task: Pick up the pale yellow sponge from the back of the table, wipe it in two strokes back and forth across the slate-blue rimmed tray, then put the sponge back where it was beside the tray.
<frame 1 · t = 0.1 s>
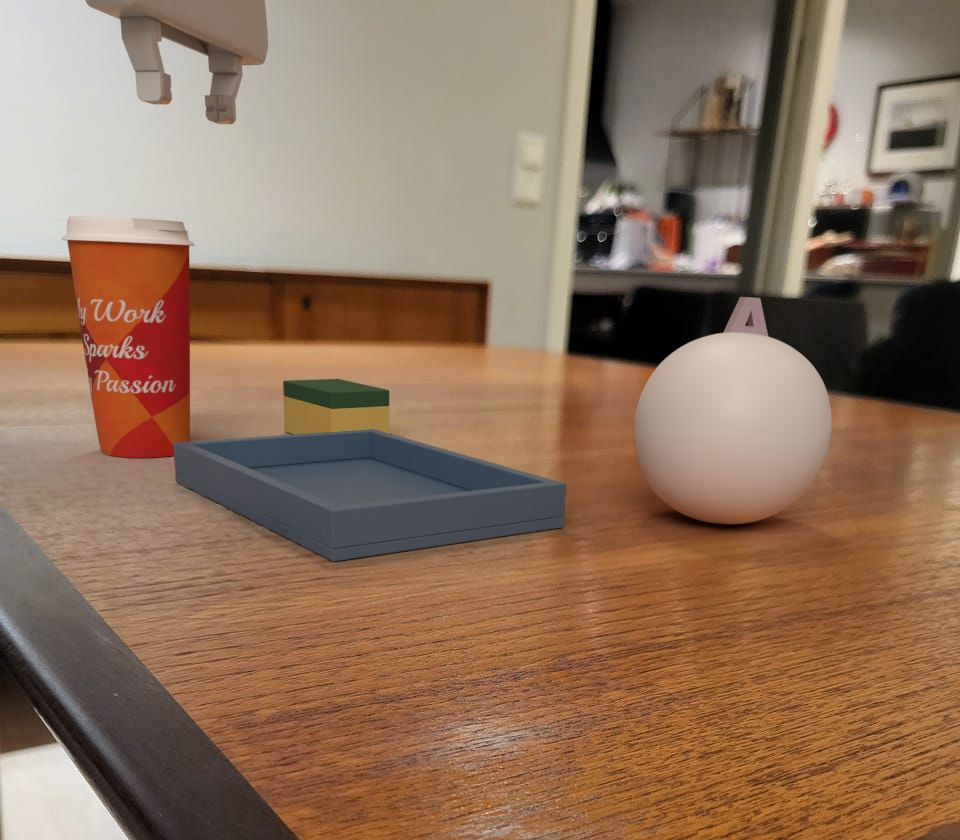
hand: (190, 113, 72), 22 cm above the table, tool pointing down, fingers open, 8 cm apart
coffee cup: (146, 453, 70), on the table
sponge: (335, 437, 79), on the table
ornament: (718, 524, 57), on the table
tray: (357, 503, 57), on the table
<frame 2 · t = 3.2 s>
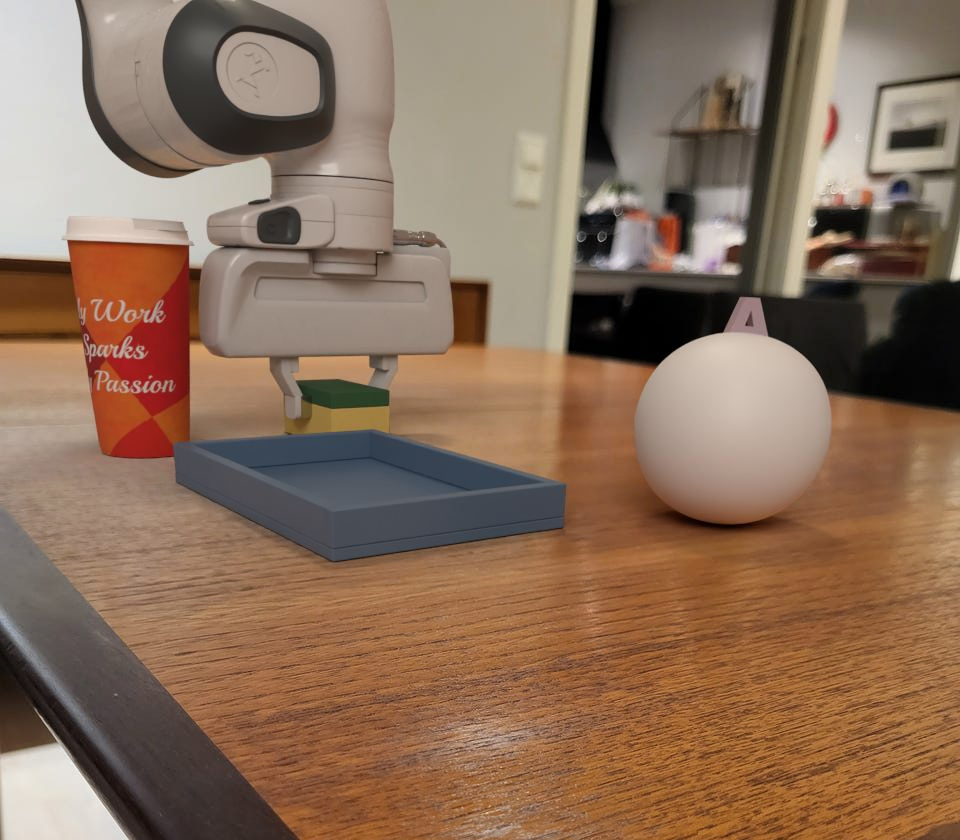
hand: (335, 416, 78), 2 cm above the table, tool pointing down, fingers closed on sponge, 5 cm apart
sponge: (335, 437, 79), on the table, touching gripper
everything else where it was.
when the fingers open (1 cm above the table, at t = 21.7 s): sponge stays where it is, on the table.
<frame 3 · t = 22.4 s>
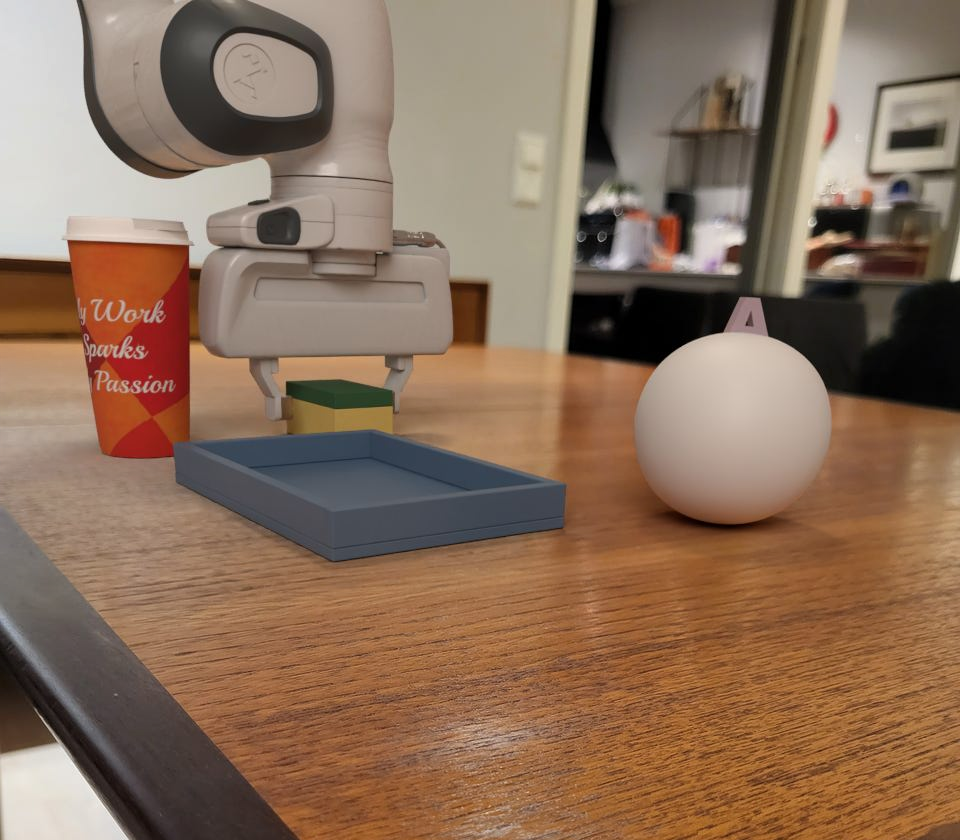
hand: (334, 416, 78), 2 cm above the table, tool pointing down, fingers open, 8 cm apart
sponge: (338, 437, 78), on the table
everything else where it was.
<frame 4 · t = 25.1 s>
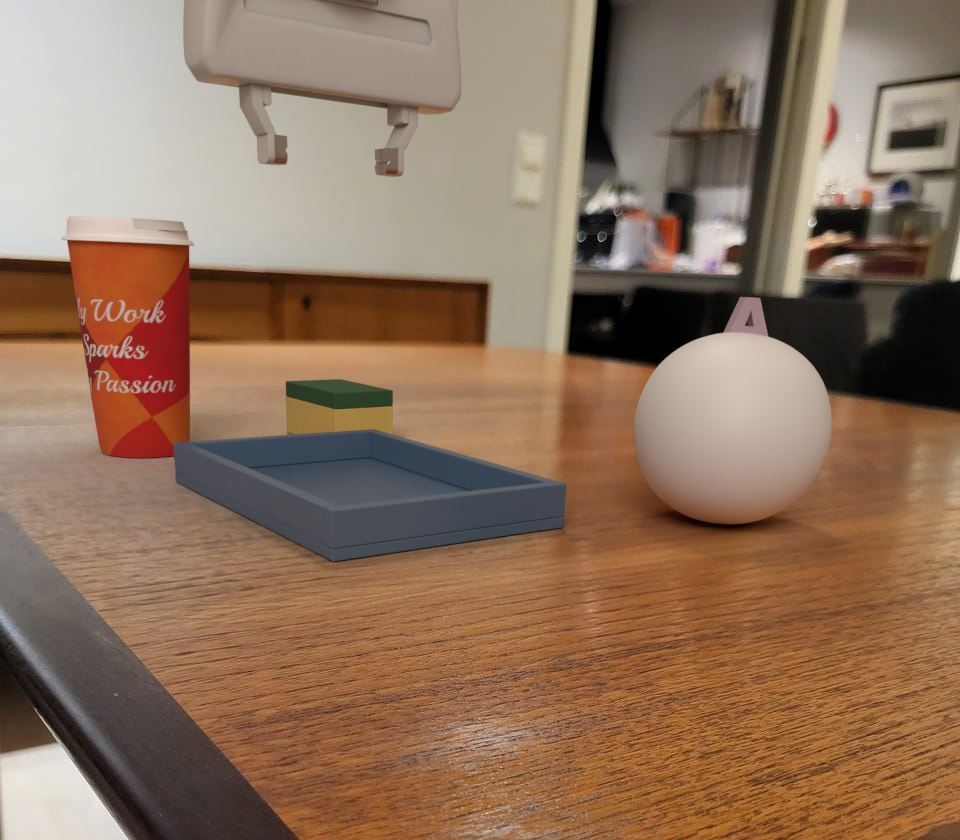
hand: (333, 170, 72), 19 cm above the table, tool pointing down, fingers open, 8 cm apart
nothing on the table moved.
at the end: sponge inside the target area on the table beside the tray (0.3 cm from its centre), on the table; sponge touching table; sponge tilted 0° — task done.
